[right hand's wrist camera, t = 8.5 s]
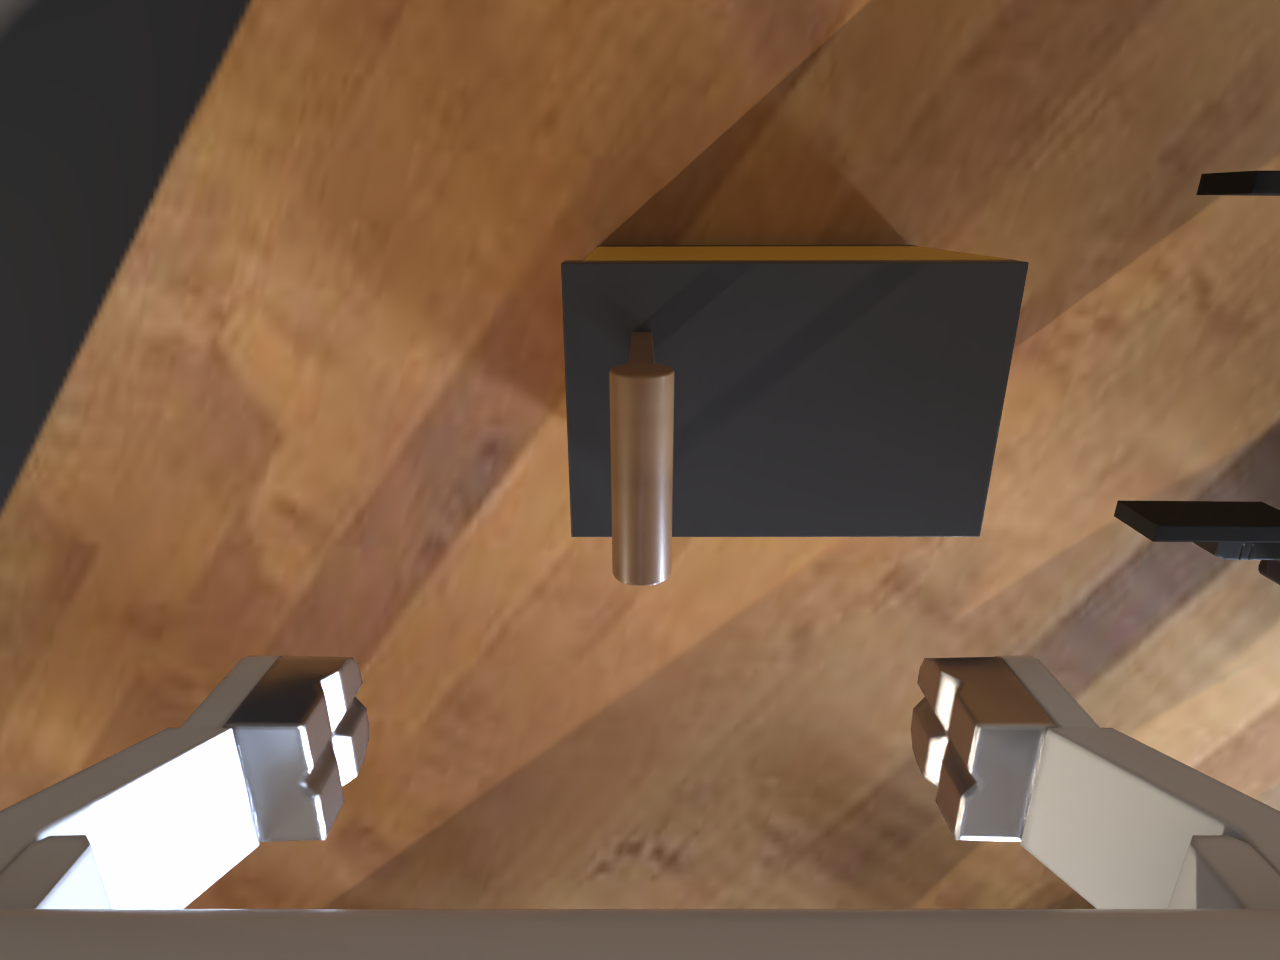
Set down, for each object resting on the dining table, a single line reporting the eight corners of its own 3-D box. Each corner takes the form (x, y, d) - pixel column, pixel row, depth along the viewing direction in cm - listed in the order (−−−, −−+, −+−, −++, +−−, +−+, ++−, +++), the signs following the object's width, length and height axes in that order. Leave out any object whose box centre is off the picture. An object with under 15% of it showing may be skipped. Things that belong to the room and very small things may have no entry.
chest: (602, 445, 38) (589, 524, 28) (598, 245, 34) (581, 260, 25) (885, 444, 38) (967, 524, 28) (909, 244, 34) (1012, 259, 25)
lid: (574, 525, 28) (546, 653, 20) (564, 260, 25) (526, 286, 17) (967, 524, 28) (1100, 653, 20) (1012, 259, 25) (1195, 285, 17)
